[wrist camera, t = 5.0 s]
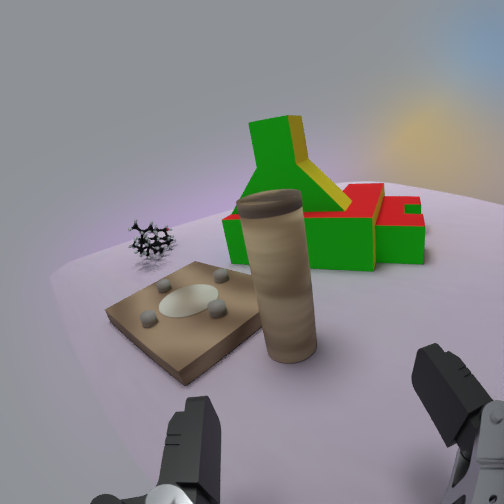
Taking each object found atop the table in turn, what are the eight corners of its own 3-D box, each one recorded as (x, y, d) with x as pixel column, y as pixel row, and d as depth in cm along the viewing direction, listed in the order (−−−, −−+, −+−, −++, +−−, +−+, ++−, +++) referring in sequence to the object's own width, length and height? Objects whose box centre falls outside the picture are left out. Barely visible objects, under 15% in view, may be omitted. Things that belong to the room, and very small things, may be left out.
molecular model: (154, 256, 57) (157, 224, 57) (181, 260, 56) (184, 227, 56) (115, 259, 42) (119, 217, 41) (148, 264, 41) (152, 220, 41)
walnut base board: (197, 271, 40) (193, 254, 39) (294, 298, 29) (291, 276, 28) (110, 320, 31) (101, 302, 30) (185, 386, 20) (173, 361, 19)
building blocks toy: (423, 276, 28) (417, 101, 21) (231, 265, 41) (203, 132, 34) (419, 222, 43) (411, 111, 36) (284, 221, 55) (268, 125, 49)
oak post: (286, 325, 25) (264, 189, 21) (326, 338, 22) (313, 188, 18) (256, 352, 23) (222, 205, 18) (298, 370, 20) (273, 206, 15)
